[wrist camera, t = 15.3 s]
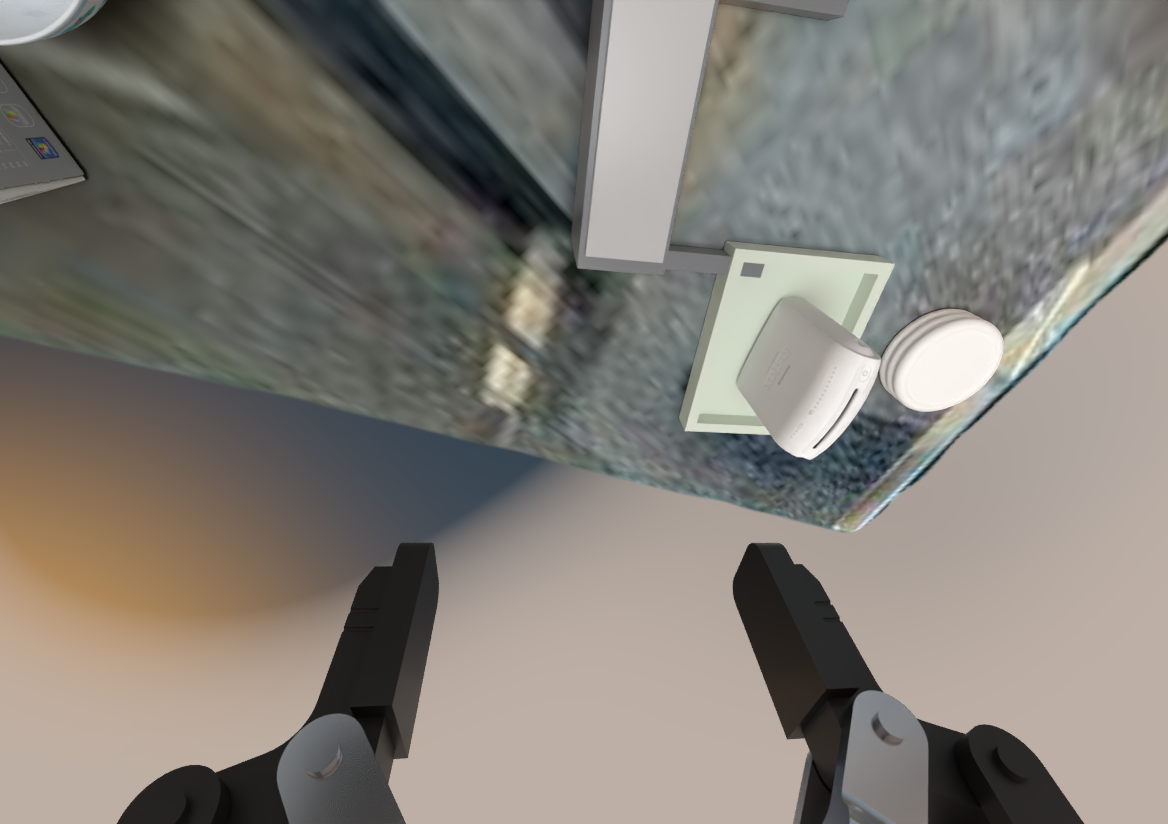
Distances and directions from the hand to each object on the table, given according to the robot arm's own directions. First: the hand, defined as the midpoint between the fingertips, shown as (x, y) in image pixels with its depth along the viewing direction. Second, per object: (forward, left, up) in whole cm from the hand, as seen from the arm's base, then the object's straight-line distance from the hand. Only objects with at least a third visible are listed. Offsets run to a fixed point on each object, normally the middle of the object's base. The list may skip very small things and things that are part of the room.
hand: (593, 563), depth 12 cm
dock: (-8, +9, -32) cm, 34 cm away
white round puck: (+8, +38, -32) cm, 51 cm away
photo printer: (+8, +21, -32) cm, 39 cm away
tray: (+8, +21, -32) cm, 39 cm away
